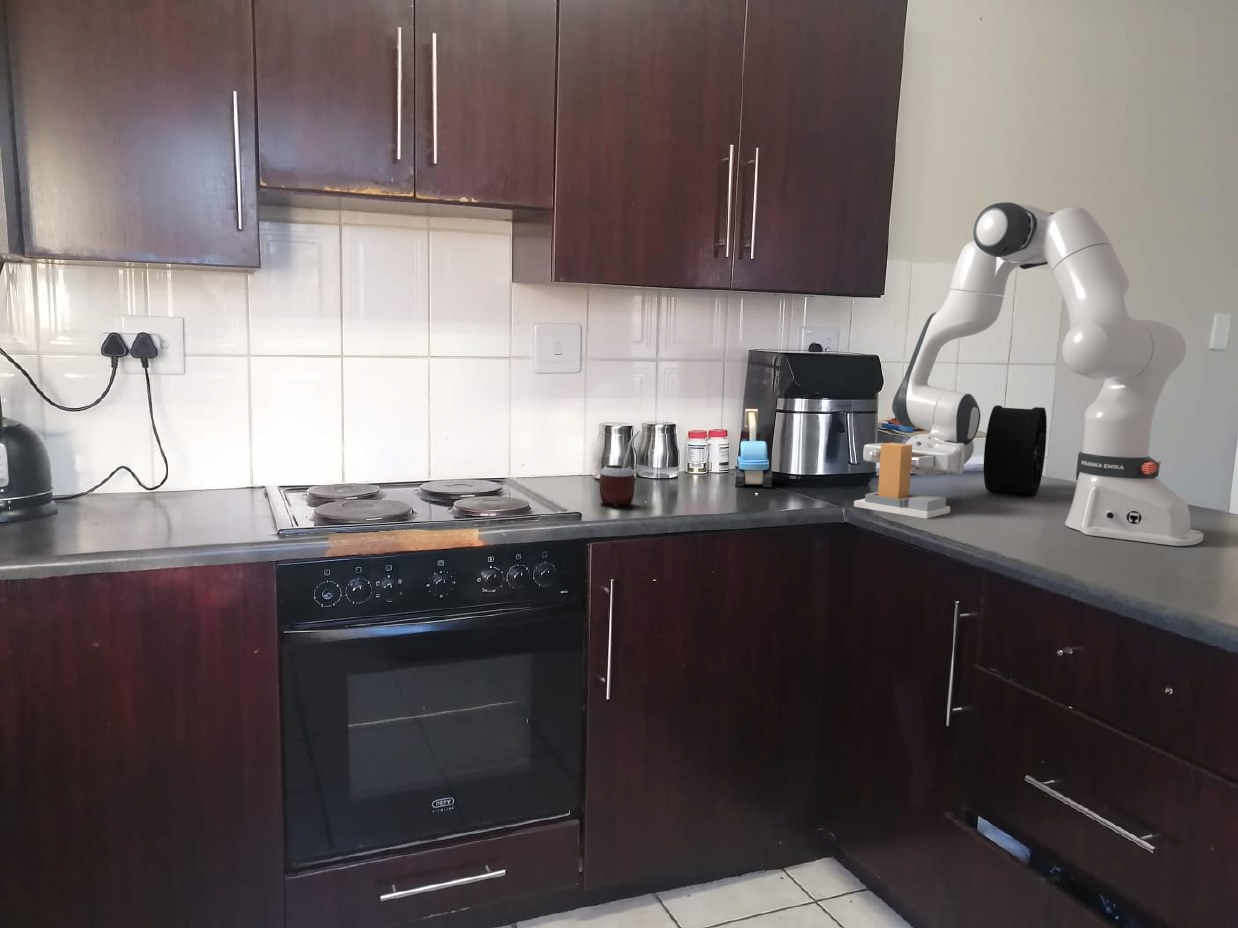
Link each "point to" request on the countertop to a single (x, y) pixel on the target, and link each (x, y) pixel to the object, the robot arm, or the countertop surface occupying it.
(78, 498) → the countertop surface
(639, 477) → the countertop surface
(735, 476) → the toy excavator
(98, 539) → the countertop surface
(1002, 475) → the car wheel rim
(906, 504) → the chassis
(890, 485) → the tall tan wooden block
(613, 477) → the mate gourd
